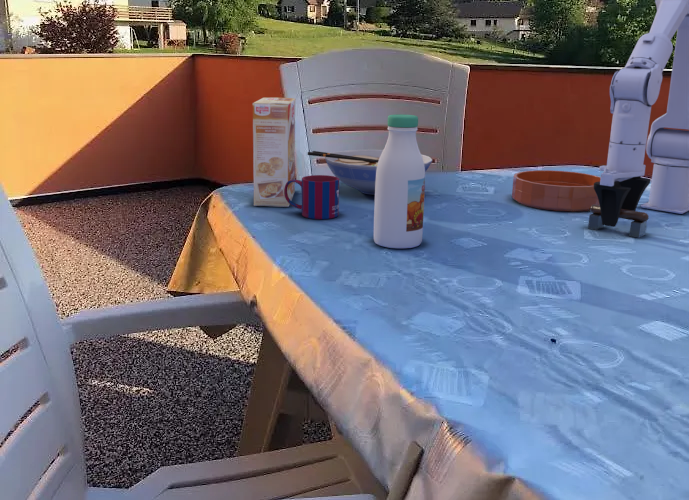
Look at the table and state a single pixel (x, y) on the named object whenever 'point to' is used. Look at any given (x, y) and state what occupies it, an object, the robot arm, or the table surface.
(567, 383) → the table surface
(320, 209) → the mug
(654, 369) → the table surface
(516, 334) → the table surface
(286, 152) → the coffeecake box
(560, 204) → the bowl
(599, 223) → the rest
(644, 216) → the brown rod
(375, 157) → the ramen bowl
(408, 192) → the milk bottle
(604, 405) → the table surface
